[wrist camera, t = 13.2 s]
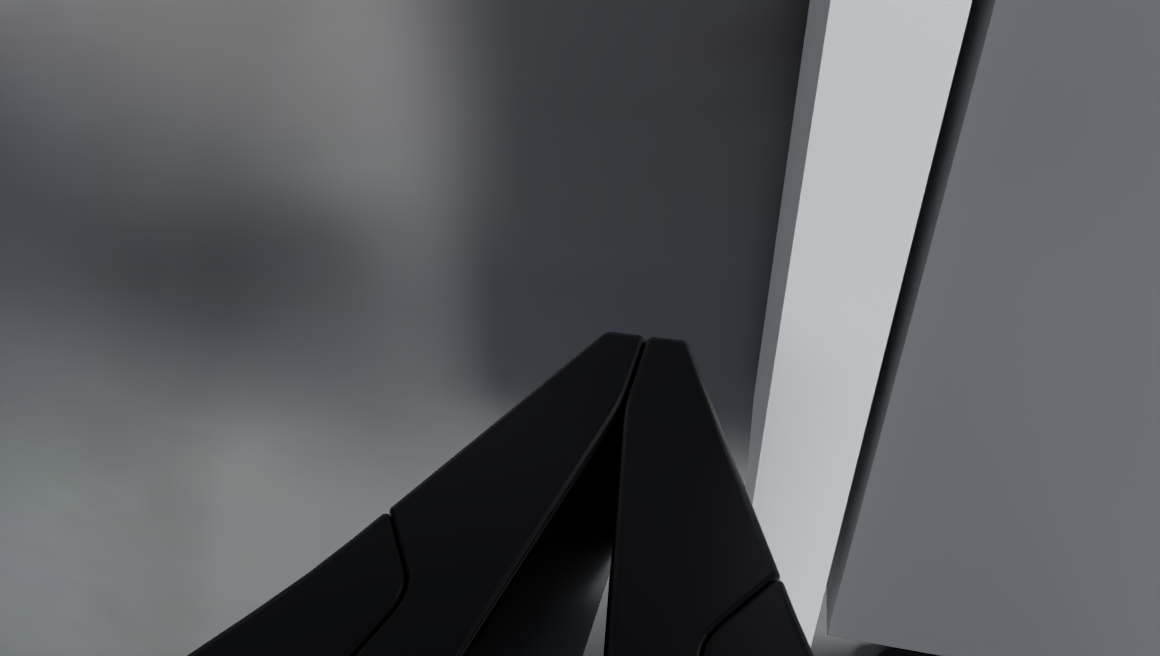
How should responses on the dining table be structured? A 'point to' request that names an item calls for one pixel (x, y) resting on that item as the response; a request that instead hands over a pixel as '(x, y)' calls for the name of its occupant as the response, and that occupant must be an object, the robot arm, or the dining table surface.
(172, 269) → the dining table surface
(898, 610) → the block
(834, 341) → the grey boxy piece
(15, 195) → the dining table surface
